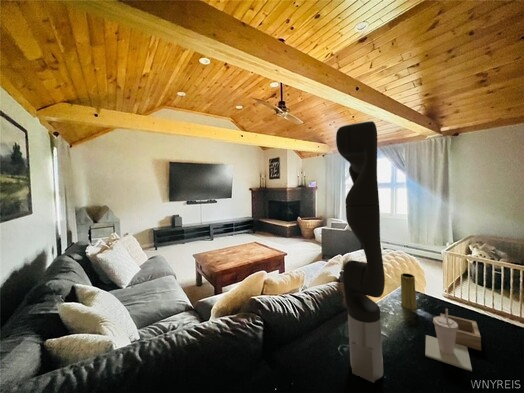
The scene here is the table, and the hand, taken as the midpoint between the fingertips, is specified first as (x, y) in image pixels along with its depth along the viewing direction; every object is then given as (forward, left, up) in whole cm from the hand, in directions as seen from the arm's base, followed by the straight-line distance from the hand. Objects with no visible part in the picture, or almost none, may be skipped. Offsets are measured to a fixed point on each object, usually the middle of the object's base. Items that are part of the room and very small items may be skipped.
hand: (366, 246), depth 94 cm
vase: (+16, -13, -30) cm, 37 cm away
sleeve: (+2, -29, -30) cm, 42 cm away
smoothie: (-10, -25, -30) cm, 40 cm away
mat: (-10, -25, -30) cm, 40 cm away
